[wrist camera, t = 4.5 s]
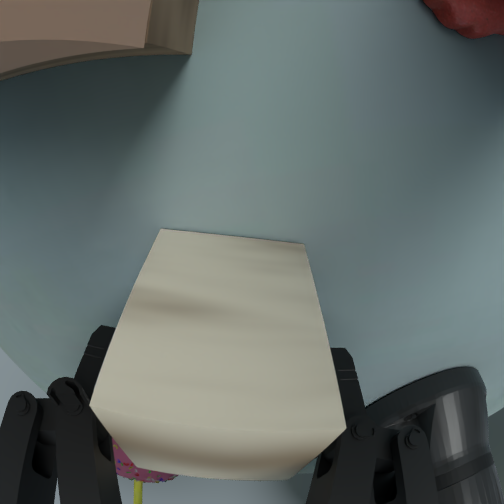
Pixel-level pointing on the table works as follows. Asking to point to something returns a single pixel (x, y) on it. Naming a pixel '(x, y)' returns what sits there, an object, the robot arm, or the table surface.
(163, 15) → the bottom block
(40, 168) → the table surface
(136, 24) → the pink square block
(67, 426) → the robot arm
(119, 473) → the cupcake
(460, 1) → the stacking bear
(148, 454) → the birch block
